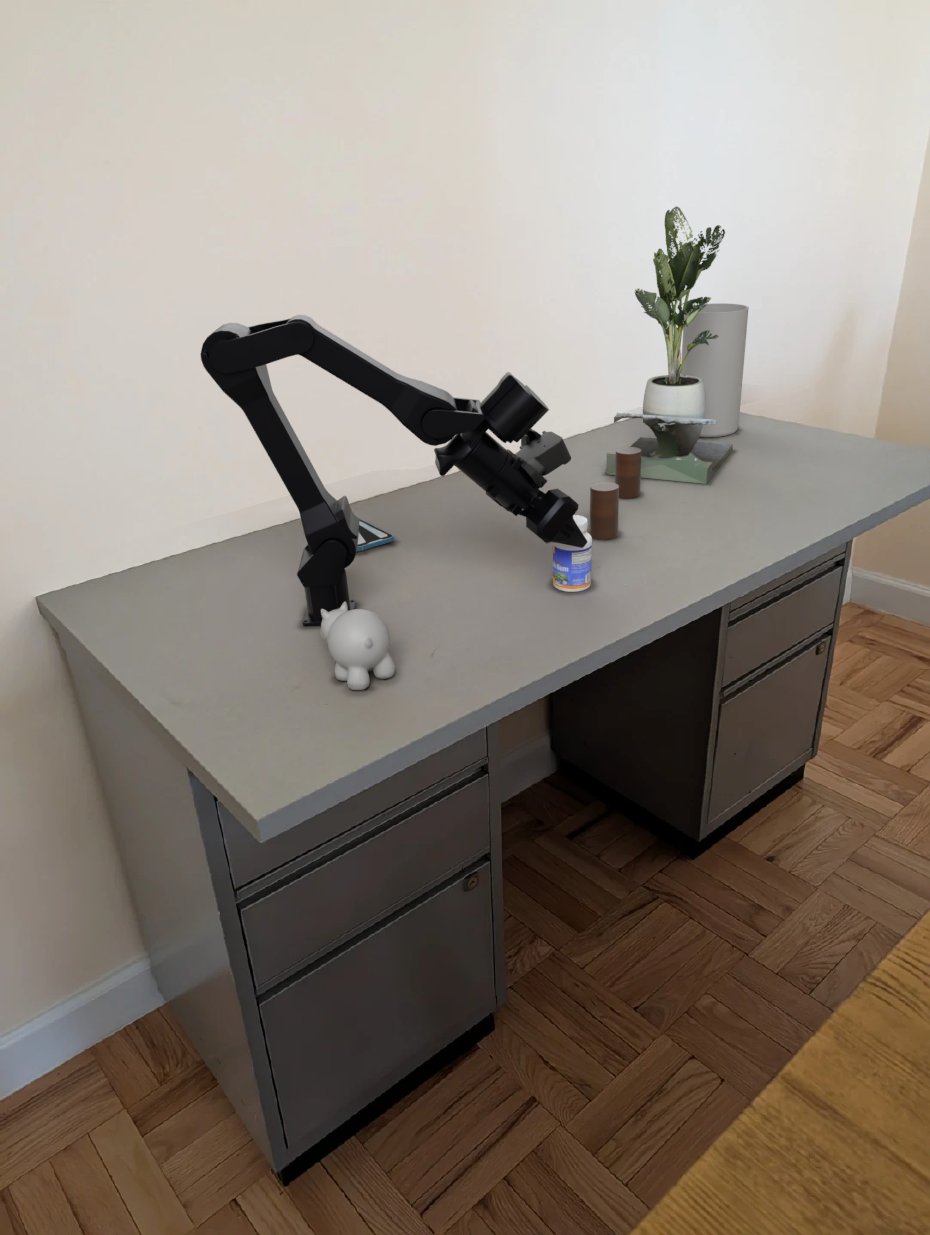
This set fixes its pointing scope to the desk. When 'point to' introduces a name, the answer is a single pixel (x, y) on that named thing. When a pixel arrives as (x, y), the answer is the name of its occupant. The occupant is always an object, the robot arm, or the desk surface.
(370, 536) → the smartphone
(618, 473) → the far peg
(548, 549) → the desk surface
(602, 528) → the near peg
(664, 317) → the potted plant
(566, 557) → the pill bottle
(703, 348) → the cylinder vase
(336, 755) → the desk surface
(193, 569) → the desk surface
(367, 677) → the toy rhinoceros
